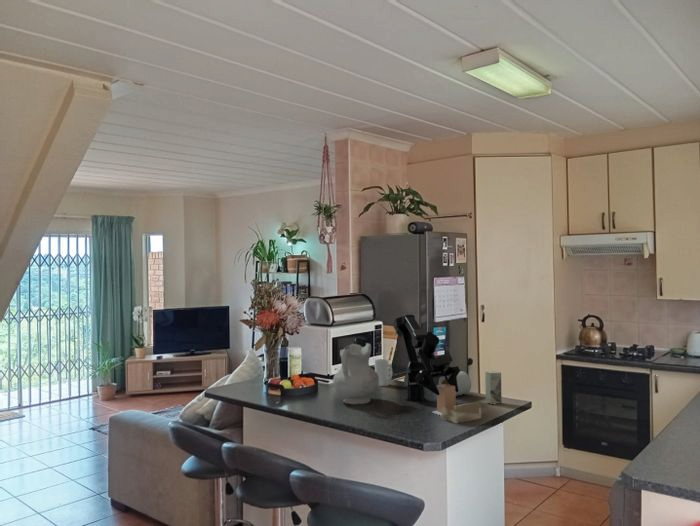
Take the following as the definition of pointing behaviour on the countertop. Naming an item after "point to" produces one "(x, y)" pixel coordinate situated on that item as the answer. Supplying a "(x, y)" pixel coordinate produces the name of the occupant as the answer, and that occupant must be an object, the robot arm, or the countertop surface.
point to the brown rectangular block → (446, 397)
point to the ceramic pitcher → (356, 375)
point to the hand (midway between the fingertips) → (448, 393)
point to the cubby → (463, 412)
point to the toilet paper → (459, 383)
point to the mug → (383, 371)
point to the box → (493, 387)
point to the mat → (437, 413)
